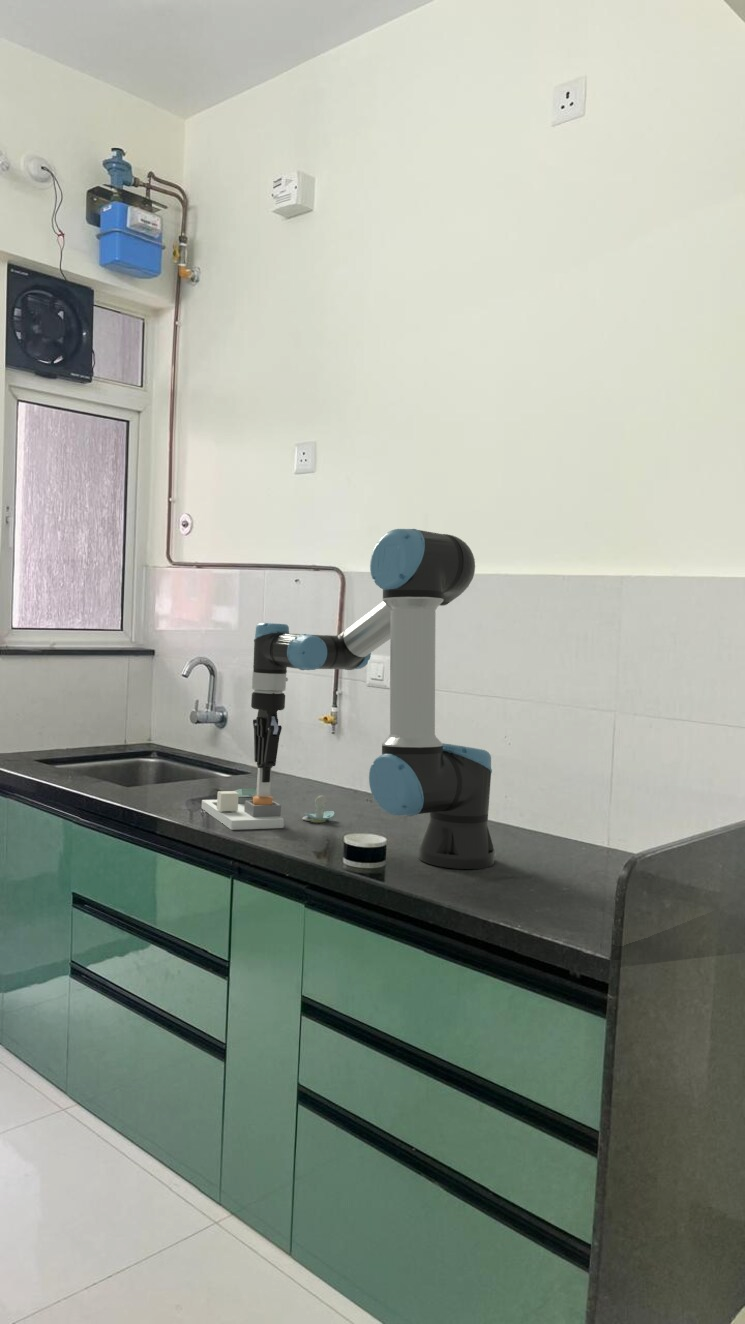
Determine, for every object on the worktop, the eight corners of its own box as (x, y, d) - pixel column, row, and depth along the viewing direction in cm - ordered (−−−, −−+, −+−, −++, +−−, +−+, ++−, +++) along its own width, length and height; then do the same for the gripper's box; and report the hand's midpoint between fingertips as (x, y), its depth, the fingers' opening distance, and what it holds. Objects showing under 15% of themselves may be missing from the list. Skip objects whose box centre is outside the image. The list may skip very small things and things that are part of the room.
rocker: (256, 794, 237) (256, 788, 238) (241, 794, 236) (241, 788, 236) (248, 796, 243) (248, 790, 243) (234, 796, 241) (233, 790, 241)
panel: (284, 827, 224) (285, 807, 224) (231, 829, 219) (232, 809, 218) (250, 806, 245) (251, 788, 245) (201, 808, 240) (202, 789, 240)
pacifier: (296, 820, 234) (310, 824, 229) (297, 793, 234) (311, 797, 229) (323, 818, 238) (337, 822, 233) (324, 791, 238) (338, 795, 233)
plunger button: (274, 811, 227) (275, 798, 226) (256, 812, 225) (256, 799, 225) (268, 808, 231) (269, 795, 230) (250, 808, 229) (250, 795, 229)
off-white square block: (237, 811, 228) (238, 793, 228) (220, 811, 226) (221, 793, 226) (233, 808, 231) (234, 791, 230) (216, 808, 229) (217, 791, 229)
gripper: (294, 694, 222) (288, 801, 223) (274, 689, 234) (269, 790, 235) (262, 694, 219) (256, 801, 220) (243, 688, 231) (238, 791, 232)
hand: (263, 795), depth 228 cm, fingers closed
